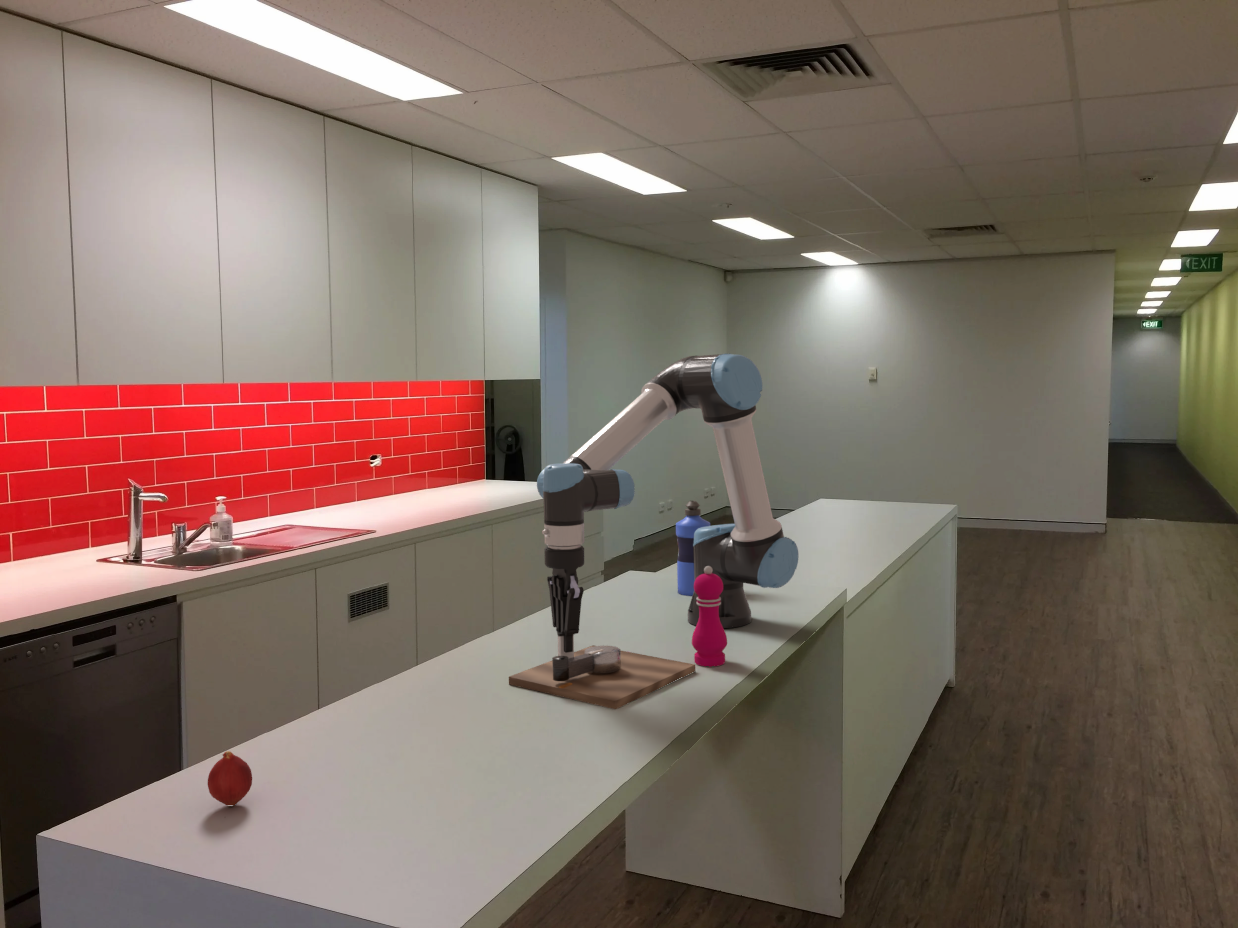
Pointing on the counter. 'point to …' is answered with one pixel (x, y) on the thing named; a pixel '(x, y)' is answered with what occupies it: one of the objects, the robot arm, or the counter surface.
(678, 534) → the water bottle
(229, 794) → the onion
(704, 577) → the pepper mill
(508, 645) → the counter surface
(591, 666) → the dark grey dumbbell shape
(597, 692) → the wooden cutting board
